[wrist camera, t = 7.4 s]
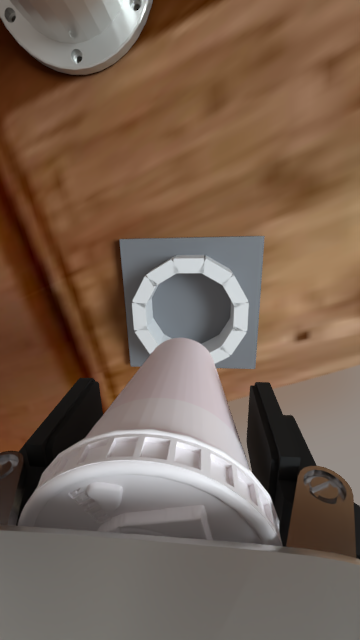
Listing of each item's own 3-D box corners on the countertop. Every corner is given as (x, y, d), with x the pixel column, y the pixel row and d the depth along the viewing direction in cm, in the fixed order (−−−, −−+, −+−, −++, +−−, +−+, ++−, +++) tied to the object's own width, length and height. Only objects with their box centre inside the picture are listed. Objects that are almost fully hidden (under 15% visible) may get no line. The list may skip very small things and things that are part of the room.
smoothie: (263, 354, 15) (762, 1446, 2) (198, 434, 17) (172, 1202, 4) (160, 290, 14) (-479, 1179, 1) (106, 381, 16) (-339, 1069, 3)
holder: (122, 238, 26) (108, 240, 23) (262, 235, 25) (272, 237, 21) (133, 361, 30) (122, 381, 27) (253, 364, 29) (260, 384, 26)
